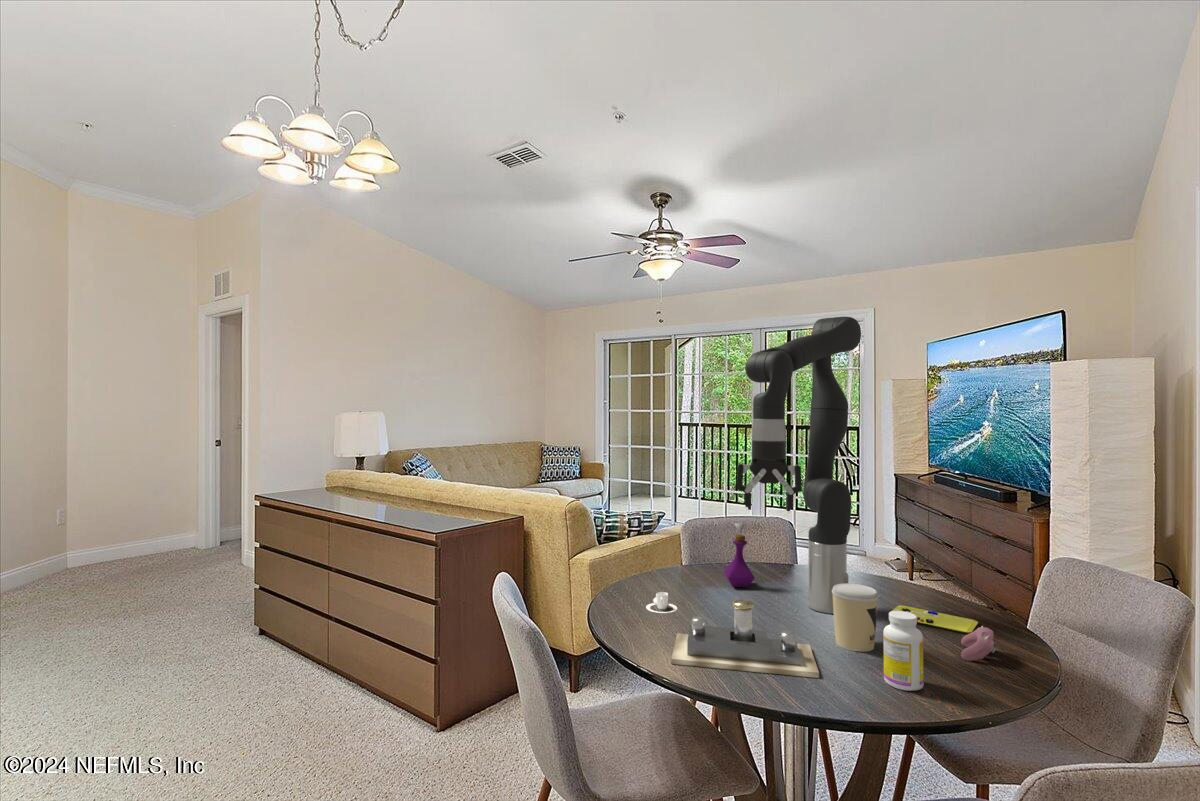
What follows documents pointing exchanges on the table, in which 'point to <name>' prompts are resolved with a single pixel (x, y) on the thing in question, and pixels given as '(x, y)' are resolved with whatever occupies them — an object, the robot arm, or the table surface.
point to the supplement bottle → (903, 652)
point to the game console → (941, 620)
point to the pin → (743, 620)
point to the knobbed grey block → (741, 645)
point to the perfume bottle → (739, 563)
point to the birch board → (805, 670)
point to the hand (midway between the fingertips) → (768, 510)
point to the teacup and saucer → (661, 602)
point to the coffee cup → (855, 616)
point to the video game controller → (977, 644)
